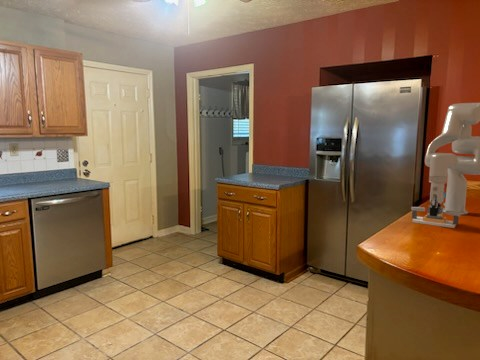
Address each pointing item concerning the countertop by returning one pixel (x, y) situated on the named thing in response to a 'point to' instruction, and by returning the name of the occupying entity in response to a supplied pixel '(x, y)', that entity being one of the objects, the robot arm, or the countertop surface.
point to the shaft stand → (435, 221)
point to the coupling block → (439, 213)
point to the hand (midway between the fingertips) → (434, 214)
